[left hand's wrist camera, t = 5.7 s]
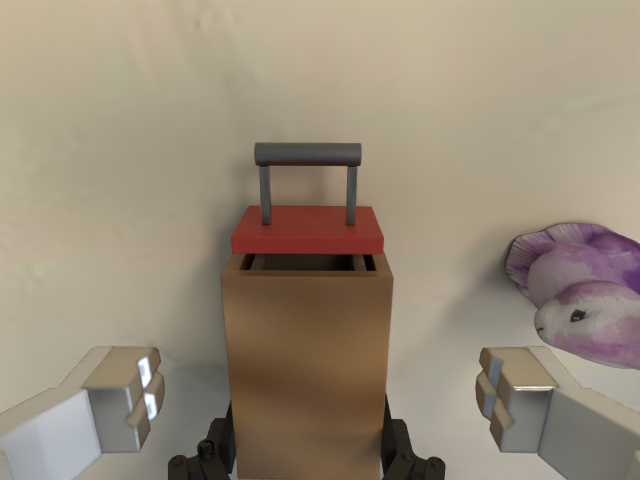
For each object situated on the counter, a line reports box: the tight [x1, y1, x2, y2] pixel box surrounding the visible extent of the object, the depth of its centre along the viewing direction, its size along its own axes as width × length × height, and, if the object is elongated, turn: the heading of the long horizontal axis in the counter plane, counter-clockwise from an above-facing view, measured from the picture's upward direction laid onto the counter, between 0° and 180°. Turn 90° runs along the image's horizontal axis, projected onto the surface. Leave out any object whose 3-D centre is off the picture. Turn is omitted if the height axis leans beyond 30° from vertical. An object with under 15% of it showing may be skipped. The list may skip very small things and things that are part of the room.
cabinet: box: [221, 250, 394, 480], centre depth 33 cm, size 17×11×9 cm, turn 0°
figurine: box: [506, 223, 640, 370], centre depth 29 cm, size 9×10×15 cm
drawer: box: [231, 143, 384, 271], centre depth 31 cm, size 21×10×7 cm, turn 0°
